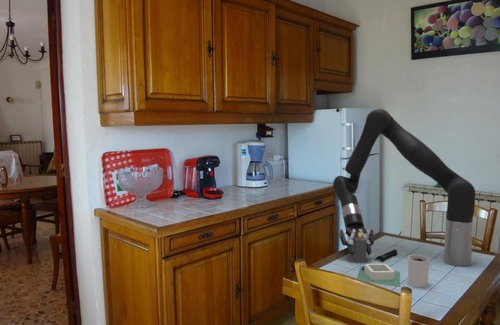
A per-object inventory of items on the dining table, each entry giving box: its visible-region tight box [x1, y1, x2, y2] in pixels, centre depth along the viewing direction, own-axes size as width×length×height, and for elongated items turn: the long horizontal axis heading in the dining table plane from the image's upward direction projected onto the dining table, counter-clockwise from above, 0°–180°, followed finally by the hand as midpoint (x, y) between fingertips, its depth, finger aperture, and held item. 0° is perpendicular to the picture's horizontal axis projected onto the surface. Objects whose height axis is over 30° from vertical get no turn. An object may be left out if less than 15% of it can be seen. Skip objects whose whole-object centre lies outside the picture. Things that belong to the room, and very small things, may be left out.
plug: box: [352, 232, 367, 264], centre depth 152 cm, size 4×4×12 cm
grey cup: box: [407, 254, 431, 288], centre depth 131 cm, size 7×7×10 cm
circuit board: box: [356, 265, 401, 288], centre depth 138 cm, size 14×14×2 cm
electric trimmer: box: [374, 248, 398, 263], centre depth 158 cm, size 4×15×3 cm, turn 134°
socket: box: [364, 263, 395, 281], centre depth 138 cm, size 8×8×3 cm
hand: (360, 254), depth 151 cm, fingers open, 6 cm apart
